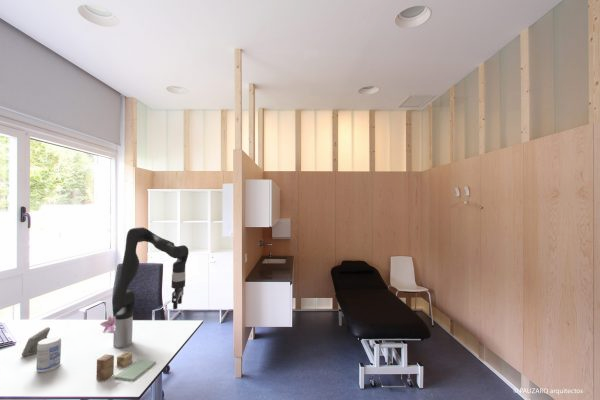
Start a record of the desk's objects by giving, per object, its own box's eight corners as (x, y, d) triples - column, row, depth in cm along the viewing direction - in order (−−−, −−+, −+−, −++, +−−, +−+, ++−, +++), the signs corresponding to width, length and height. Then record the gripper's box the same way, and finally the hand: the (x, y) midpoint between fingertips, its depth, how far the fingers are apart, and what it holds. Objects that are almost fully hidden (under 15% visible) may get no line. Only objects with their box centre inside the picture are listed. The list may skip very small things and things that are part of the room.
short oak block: (116, 366, 147) (116, 356, 147) (124, 361, 152) (124, 352, 152) (124, 367, 146) (124, 357, 146) (131, 362, 151) (132, 353, 151)
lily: (98, 331, 189) (95, 322, 185) (115, 319, 199) (113, 310, 194) (109, 340, 185) (107, 330, 181) (126, 327, 195) (124, 318, 190)
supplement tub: (52, 372, 141) (53, 343, 141) (31, 374, 139) (32, 345, 139) (64, 361, 150) (65, 335, 151) (44, 363, 148) (45, 336, 149)
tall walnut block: (96, 379, 135) (96, 359, 135) (105, 373, 140) (105, 354, 140) (104, 381, 134) (105, 360, 134) (113, 374, 139) (113, 355, 139)
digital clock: (41, 343, 170) (42, 326, 171) (56, 343, 171) (56, 326, 171) (15, 357, 154) (16, 339, 154) (31, 357, 154) (32, 338, 155)
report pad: (114, 378, 136) (114, 376, 136) (138, 360, 152) (138, 359, 152) (133, 381, 134) (133, 379, 134) (155, 363, 150) (155, 361, 150)
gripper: (175, 276, 168) (174, 302, 168) (167, 282, 154) (166, 311, 153) (188, 276, 169) (187, 301, 169) (181, 282, 155) (180, 310, 154)
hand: (177, 306), depth 161 cm, fingers open, 8 cm apart
